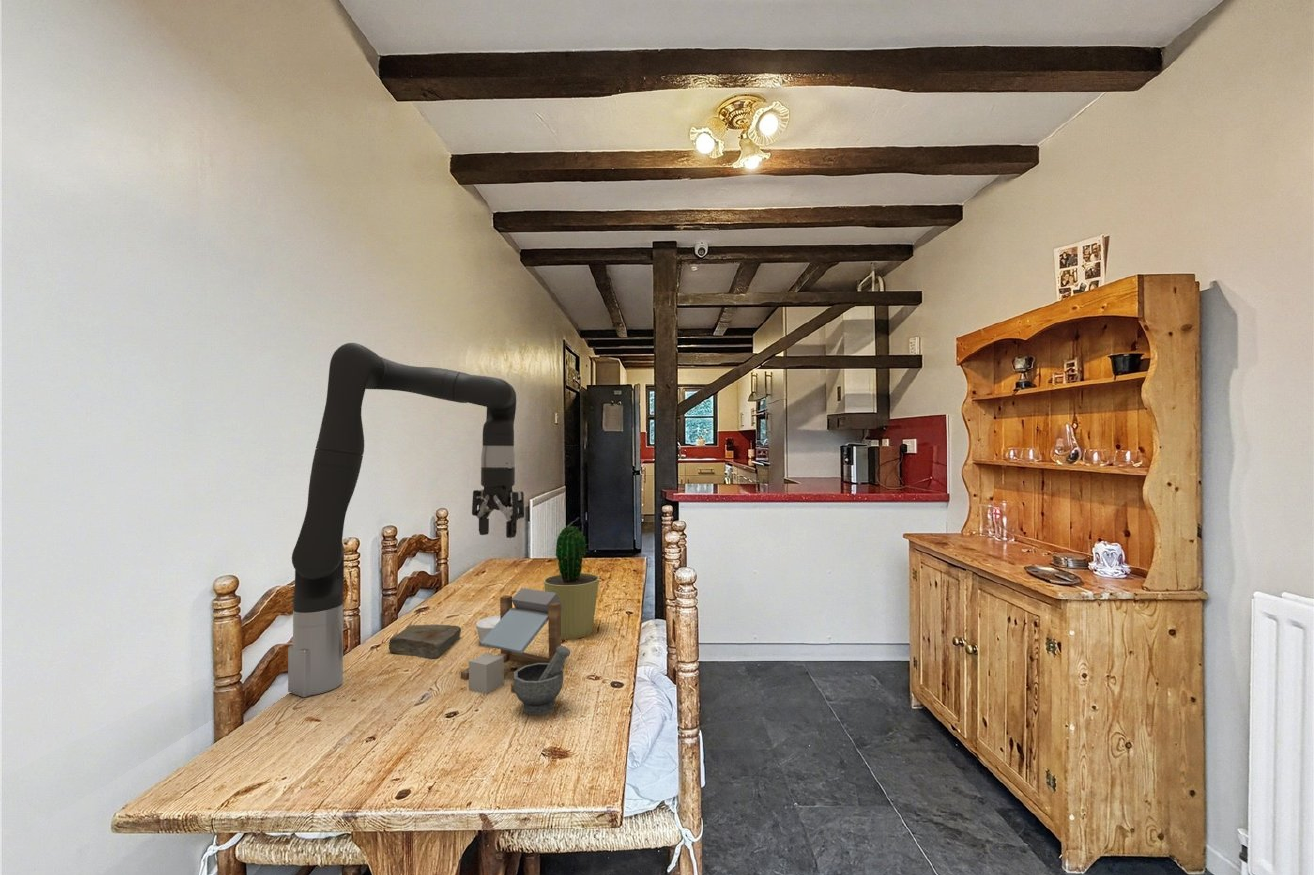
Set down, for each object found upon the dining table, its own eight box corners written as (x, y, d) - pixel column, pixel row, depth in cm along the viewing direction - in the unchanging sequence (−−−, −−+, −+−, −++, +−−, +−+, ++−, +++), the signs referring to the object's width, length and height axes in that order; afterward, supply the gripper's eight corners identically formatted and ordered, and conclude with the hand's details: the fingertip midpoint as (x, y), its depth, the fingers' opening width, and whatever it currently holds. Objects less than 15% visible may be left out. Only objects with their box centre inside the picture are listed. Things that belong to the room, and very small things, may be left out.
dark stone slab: (438, 660, 131) (437, 643, 132) (379, 660, 132) (379, 643, 132) (465, 637, 148) (465, 621, 148) (413, 637, 149) (413, 621, 149)
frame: (518, 693, 112) (517, 620, 112) (460, 678, 120) (460, 610, 120) (563, 667, 125) (562, 602, 125) (508, 655, 133) (508, 594, 133)
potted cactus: (576, 645, 139) (575, 529, 140) (532, 636, 147) (531, 526, 148) (610, 628, 152) (609, 522, 153) (568, 620, 160) (567, 519, 161)
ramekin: (467, 645, 140) (467, 625, 141) (493, 632, 151) (493, 613, 151) (503, 650, 137) (503, 629, 137) (527, 636, 147) (527, 616, 148)
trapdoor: (525, 660, 117) (517, 643, 115) (484, 651, 123) (476, 635, 121) (564, 609, 130) (558, 593, 128) (526, 603, 135) (519, 587, 133)
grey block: (503, 656, 116) (503, 684, 116) (486, 653, 119) (486, 680, 118) (486, 665, 112) (486, 694, 112) (468, 661, 114) (469, 689, 114)
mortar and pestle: (505, 719, 101) (505, 654, 101) (522, 696, 110) (521, 637, 110) (564, 720, 100) (564, 655, 100) (576, 697, 109) (575, 638, 110)
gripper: (463, 465, 125) (462, 536, 124) (508, 466, 118) (508, 540, 117) (488, 465, 131) (487, 532, 130) (532, 465, 124) (531, 536, 123)
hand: (497, 536), depth 124 cm, fingers open, 8 cm apart
